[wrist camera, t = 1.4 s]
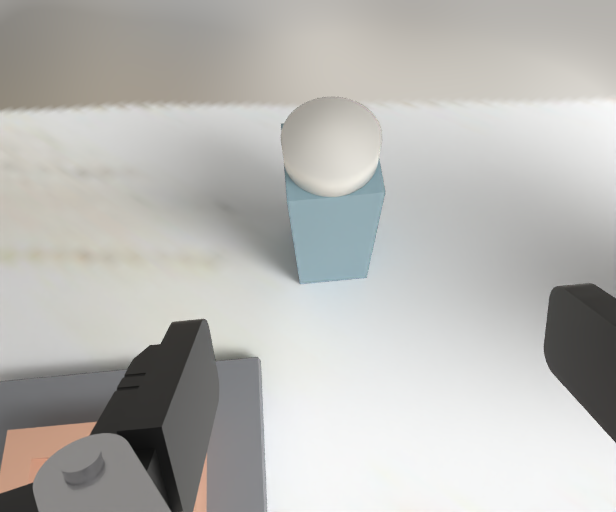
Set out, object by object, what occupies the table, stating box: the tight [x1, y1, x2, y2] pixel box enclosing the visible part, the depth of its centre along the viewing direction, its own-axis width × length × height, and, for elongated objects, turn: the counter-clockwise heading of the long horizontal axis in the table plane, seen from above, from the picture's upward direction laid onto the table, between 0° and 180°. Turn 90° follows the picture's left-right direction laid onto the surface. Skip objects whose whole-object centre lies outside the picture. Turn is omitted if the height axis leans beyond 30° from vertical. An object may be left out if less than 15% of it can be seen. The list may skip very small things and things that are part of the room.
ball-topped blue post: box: [281, 97, 385, 284], centre depth 25 cm, size 4×4×12 cm
